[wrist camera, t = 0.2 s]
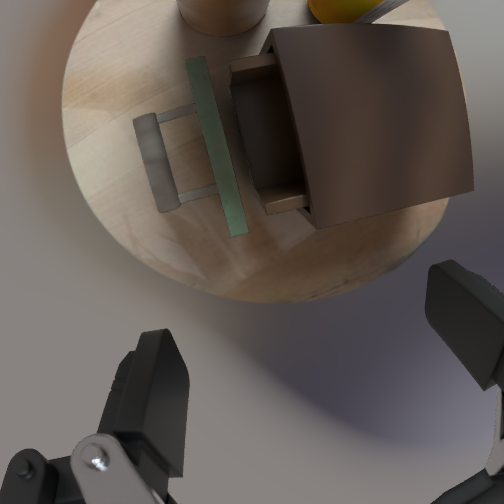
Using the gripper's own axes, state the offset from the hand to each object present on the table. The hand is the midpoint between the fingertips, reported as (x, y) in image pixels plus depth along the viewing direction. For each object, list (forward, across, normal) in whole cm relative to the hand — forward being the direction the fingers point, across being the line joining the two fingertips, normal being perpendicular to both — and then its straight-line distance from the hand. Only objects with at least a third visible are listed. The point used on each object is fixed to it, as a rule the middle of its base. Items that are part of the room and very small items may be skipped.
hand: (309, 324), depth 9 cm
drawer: (+18, -2, -5) cm, 19 cm away
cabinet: (+19, -9, -5) cm, 22 cm away
